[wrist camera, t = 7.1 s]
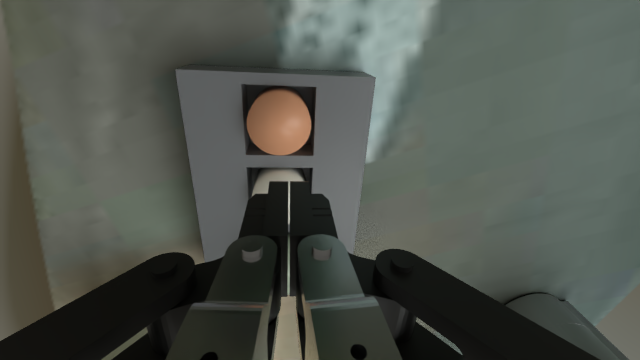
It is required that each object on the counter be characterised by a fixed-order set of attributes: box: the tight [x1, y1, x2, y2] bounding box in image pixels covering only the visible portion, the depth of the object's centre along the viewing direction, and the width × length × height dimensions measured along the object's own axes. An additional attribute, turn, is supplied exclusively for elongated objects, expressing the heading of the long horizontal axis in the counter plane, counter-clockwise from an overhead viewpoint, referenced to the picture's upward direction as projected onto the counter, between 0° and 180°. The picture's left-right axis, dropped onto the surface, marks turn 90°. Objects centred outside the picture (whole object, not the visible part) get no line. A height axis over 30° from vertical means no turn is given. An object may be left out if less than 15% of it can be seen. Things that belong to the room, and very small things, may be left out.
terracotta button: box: [247, 85, 311, 155], centre depth 20 cm, size 4×4×3 cm
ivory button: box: [252, 167, 306, 224], centre depth 22 cm, size 4×4×3 cm
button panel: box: [175, 65, 376, 263], centre depth 23 cm, size 12×17×3 cm
